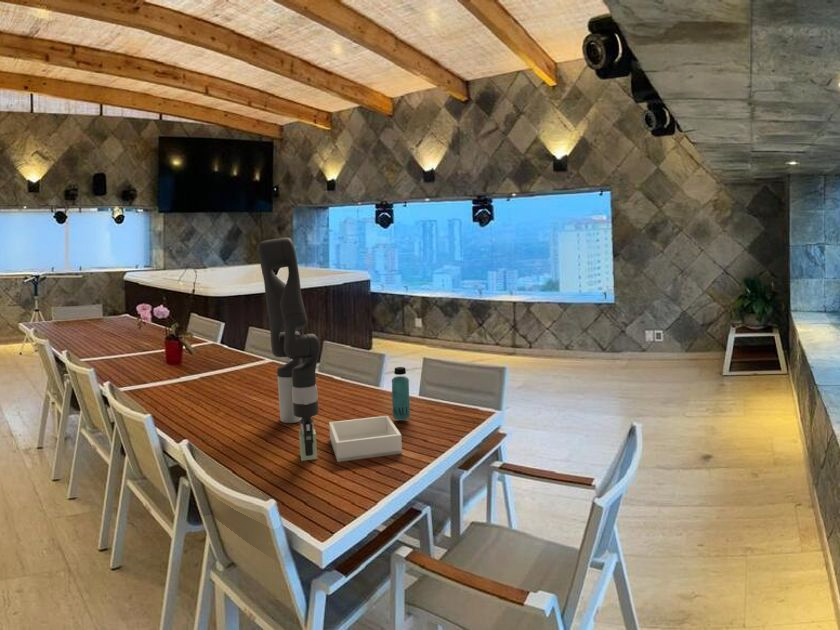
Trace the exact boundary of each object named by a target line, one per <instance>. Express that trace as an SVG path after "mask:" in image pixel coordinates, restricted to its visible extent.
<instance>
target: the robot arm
mask: <svg viewBox="0 0 840 630" xmlns="http://www.w3.org/2000/svg"><path fill="white" fill-rule="evenodd" d="M257 249H258V251H257V252H258V253H257V254H258V258H259V264H260V268H261V272H262V277H263V284H264V294H265V303H266V309H267V311H266V312H267V316H268V322H269V329H270V330H269V331H270V346H271V347H270V348H271V352H272V354H273V356H274V357H276V358H288V359H290V361H289V362H287V363H285V364H282V365H280V366H279V367H277V370H276V374H277V388H278V402H279V403H278V404H279V416H280V417H279V418H280V422H282V423H285V424H294V423H299V425H300V430H302V437H304V443H305V454H306V456H311V455H313V444H312V443H313V442H314V440H313V435H314V431H313V429H314V427H315V426H314V425H315V424H314V420H313V419H314V418H312V417H315V416H317V415H319V399H318V388H317V379H316V377H317V374H316V370H317V364H318V359H319V354H320V351H321V344H320V340H319V337H318V336H317V335H316V334H314V333H305V334H301V333H300V332H299V330H301V329H303V328H306V326H307V325H308V317H307V313H306V309H305V305H304V300H303V295H302V291H301V290H302V289H301V279H300V272H299V264H298V259H297V253H296V249H295V245H294V242H293V240H292V239H291V238H289V237H279V238H274V239H266V240H262V241H261V242H259V244H258V248H257ZM283 268H287V269H288V276H287V280H286V283H285V282H284V281H282V280H281V279H280V278H279V277H278V276H277V275H276V273H275V272H274V270H277V269H283ZM283 327H284V331H282V330H283ZM303 359H304V360H303ZM309 436H310V437H311V440H306V437H309Z"/></svg>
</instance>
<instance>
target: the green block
mask: <svg viewBox="0 0 840 630" xmlns="http://www.w3.org/2000/svg"><path fill="white" fill-rule="evenodd" d="M313 431H314V435H313V440H314V442H313V443H312V444H313V455H311V456H306V454H305V443H304V437H302V430H301V429H300V430H298V437H299V453H300V461H301V462H303V461H310V460H311V461H312V460H317V459H318V449H317V434H316V429H315V428H313ZM306 440H311V437H310V436H309V437H306Z"/></svg>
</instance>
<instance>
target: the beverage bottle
mask: <svg viewBox="0 0 840 630" xmlns="http://www.w3.org/2000/svg"><path fill="white" fill-rule="evenodd" d="M393 372H394V375H395V376H394V377H393V378H392V379H391V399H392V418H393V419H394V420H397V421H402V420H408V419H409V418H410V416H411V406H410V405H411V404H410V379H409V378H408V377H407V376H405V374H406V373H407V372H406V367H404V366H398V367H395V368H394V371H393Z"/></svg>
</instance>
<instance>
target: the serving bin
mask: <svg viewBox="0 0 840 630" xmlns="http://www.w3.org/2000/svg"><path fill="white" fill-rule="evenodd" d="M328 426H329V440H330V443H331V446H332V449H333V452H334V456H335V459H336V461H337V463H339V462H340V463H341V462H348V461H355V460H362V459H363V460H364V459H369V458H379V457H385V456H393V455H401V454H403V444H402V440H403V439H402V433H401V432H400V430H399V429H398V427H396V425H395V424H394V422H393V421H392V419H391V418H390V416H389V415H383V416H382V415H381V416H373V417H363V418H355V419H347V420H336V421H329V424H328Z"/></svg>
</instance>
